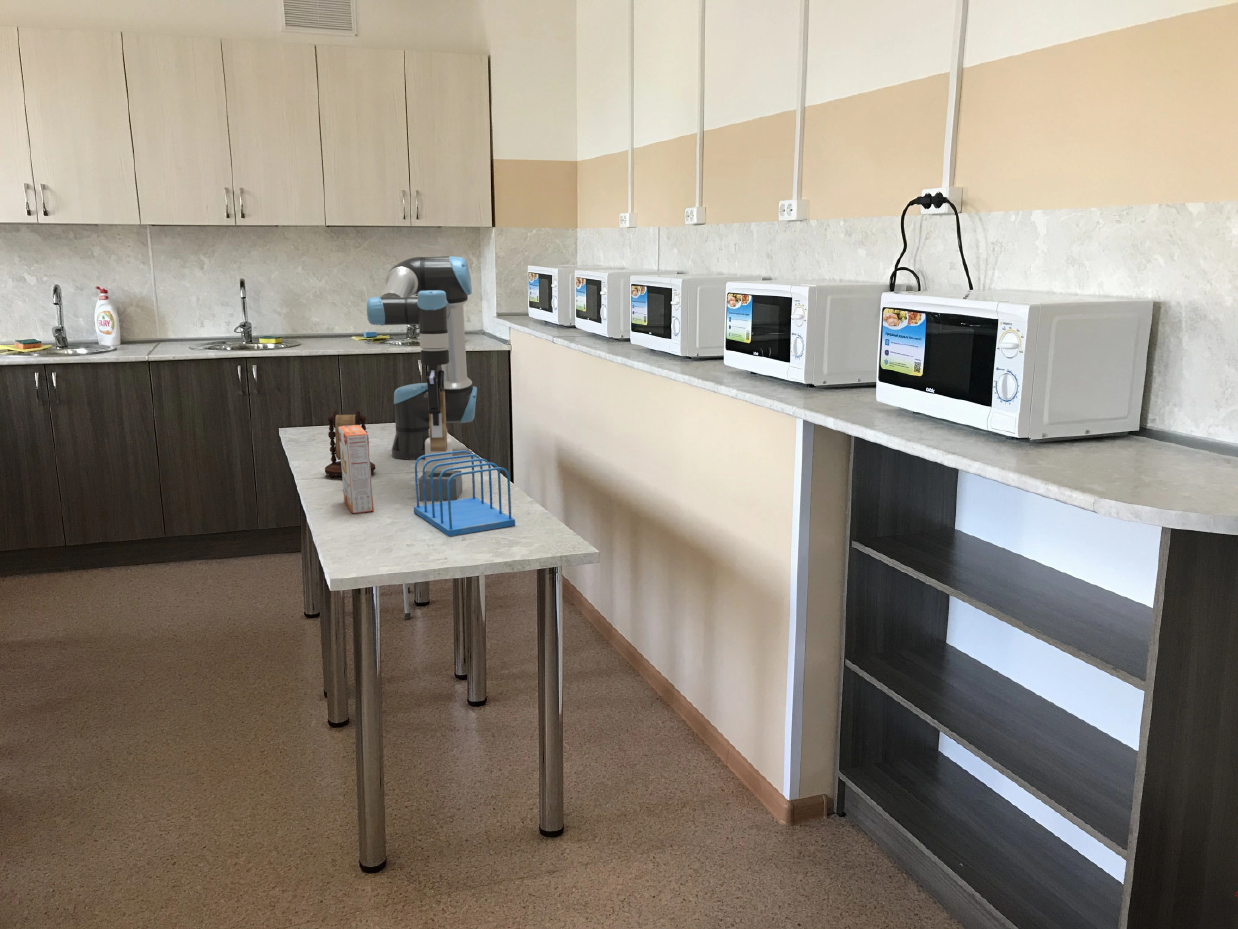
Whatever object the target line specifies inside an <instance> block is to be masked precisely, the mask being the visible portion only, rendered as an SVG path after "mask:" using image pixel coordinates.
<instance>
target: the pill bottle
mask: <svg viewBox="0 0 1238 929" xmlns="http://www.w3.org/2000/svg"><path fill="white" fill-rule="evenodd" d="M446 430H447V431H448V428H446ZM429 436H430V429H429ZM452 451H453V441H452V439H451V438H450V437H448V436H447V450H446V451H439V452H431V447H430V438H428V439H426V441H425V455H429V454H437V453H444V452H452ZM452 456H454V454H447V455H439V456H432V457H425V458H424V459H425V461H424V462H425V463H426V462H427V461H429V460H431V459H437V458H445V457H452ZM448 462H454V459H447V460H440V461H433V462H430V463H429V464H427V465H426V467H425V471H431V470H432V468H433V467H434V466H435V465H437V464H441V463H448ZM453 467H454V464H451V465H445V466H439V467H437V468H436V469H435V470H434V471H443V470H445V469H447V468H453ZM450 471H454V470H450Z"/></svg>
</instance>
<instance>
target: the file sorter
mask: <svg viewBox="0 0 1238 929" xmlns="http://www.w3.org/2000/svg"><path fill="white" fill-rule="evenodd" d="M462 453H465V454H462ZM447 454H453V456H452V457H445V458H437V459H431V460H429V461H427V462H426V461H425V462H424V464H423V466H422V471H421V472H422V474H421V476H422V475H423V493H424V501H423V504H421V505H420V495H419V478H418V463H419V461H420V460H422V458H424V459H425V457H432V456H439V455H447ZM454 454H462V455H455V456H454ZM468 457H469V458H471V459H463V458H468ZM447 459H453V460H454V459H463V460H458V461H453V462H448V463H441V464H437V465H435V466H434V467H433V468H432V470H431V473H430V482H431V499H432V501H431V503H428V504H427V501H426V484H425V471H426V465H427V464H429V463H430V462H433V461H440V460H447ZM415 460H416V461H415V463H414V480H415V496H416V505H414V507H413V513H414V514H416V515H417V516H419V517H420V518H421V519H423V520H424V521H426V522H427V521H428V522H427V523H429V524H430V525H432V526H433V527H434V528H436V529H437V528H438V530H439V531H440V530H441V531H440V532H441V533H443V534H444V535H446V534H447V535H448V536H447V535H446V536H447V537H449V536H450V537H453V536H452V535H456V536H460V535H459V534H461V535H466V534H471V533H472V534H473V533H478V532H483V531H489V530H496V529H503V528H509V527H512V526H514V527H515V526H516V519H515V518H514V517H512V499H511V498H512V494H511V478H510V472H509V470H507V469H506V468H504V467H502V466H501V467H500V466H498V464H496V463H495V462H490V461H488V460H487V459H485V458H481V457H480V456H479V455H477V454H473V453H472V452H470V451H468V450H466V449H465V450H463V449H462V450H455V451H453V450H452V452H444V453H437V454H429V455H423V456H421V457H419V458H418V459H415ZM475 462H479V463H477V464H475ZM483 462H484V463H483ZM465 463H471V464H470V465H469V464H467V465H462V466H455V467H454V466H453V468H447V469H445V470H443V471H442V472H441V474H440V476H439V497H440V501H439V502H436V503H435V501H434V492H433V472H434V470H435V469H436V468H437V467H439V466H445V465H451V464H453V465H458V464H465ZM486 466H487V467H488V468H483V467H486ZM492 466H493V467H492ZM477 467H480V468H479V469H476V470H475V468H477ZM469 468H470V469H471V470H469V471H463V472H462V471H461V472H462V473H456V474H454V475H452V476H451V477H450V478H449V480H448V483H447V493H448V501H442V488H441V478H442V475H443V474H444V473H445V472H447V471H450V470H453V471H458V470H462V469H464V470H465V469H469ZM492 471H497V485H498V486H497V487H498V488H497V489H498V507H499V509H498V508H495V507H494V506H493V487H492V486H493V485H492ZM501 471H504V472H505V474H506V479H507V482H506V483H507V505H508V514H506V513H505V512H503V511H502V510H503V507H502V487H501V486H502V484H501V483H502V481H501ZM485 472H488V483H489V484H488V486H489V488H488V489H489V503H487V502H485V501H484V500H485V499H484V498H485V497H484V477H483V476H484V474H483V473H485ZM478 473H479V474H480V498H478V497H476V484H475V483H476V482H475V474H478ZM459 475H462V476H463V475H471V476H472V478H471V482H472V484H471V485H472V497H469V498H468V497H467V498H462V499H461V498H459V499H457V500H453V501H450V481H451V480H452V479H453V478H454V477H455V476H459Z"/></svg>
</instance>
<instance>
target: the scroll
mask: <svg viewBox="0 0 1238 929" xmlns="http://www.w3.org/2000/svg"><path fill="white" fill-rule="evenodd" d="M366 421H367V417H366V416H365V415H363V414H362V415H361V411H360V409H359V408H357V409H356V410H355V414H338V410H337V409H334V410H333V412H332V415H329V416H328V417H327V422H328V423H327V424H328V425H329V427H328V430H329V431H328V433H327V434H328V435H327V436H328V437H329V440H330V442H329V446H330V447H329V452H330V455H331V458H330V461H331V463H329V464H328V465H326V466H325V467H324V473H325V474H326V475H328V477H329V479H330V480H331V479H333V476H336V477H337V476H339V477H340V476H341V477H342V466H341V453H340V442H339V430H338V427H340V426H351V425H360V427H361V428H362V429H363V430H364V431H365V432H366V433H367V434H368V431H367V427H366ZM334 430H335V431H334ZM337 460H338V461H337ZM370 468H371V473H372V472H374V471H375V470H376V468H377V467H376V464H375V463H373V462H372V461H370Z"/></svg>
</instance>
